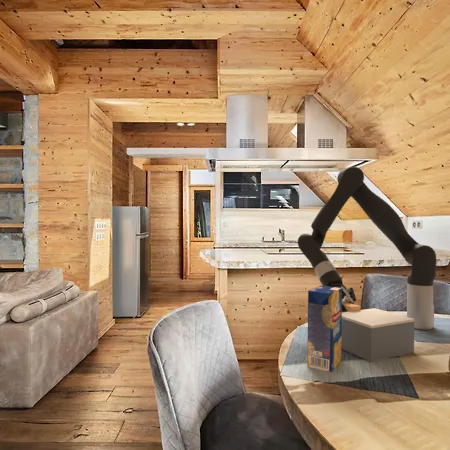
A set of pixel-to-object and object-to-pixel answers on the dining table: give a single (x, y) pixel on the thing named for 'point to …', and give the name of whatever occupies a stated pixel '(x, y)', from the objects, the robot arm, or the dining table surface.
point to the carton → (377, 340)
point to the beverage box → (324, 327)
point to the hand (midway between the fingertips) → (350, 313)
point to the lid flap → (372, 316)
